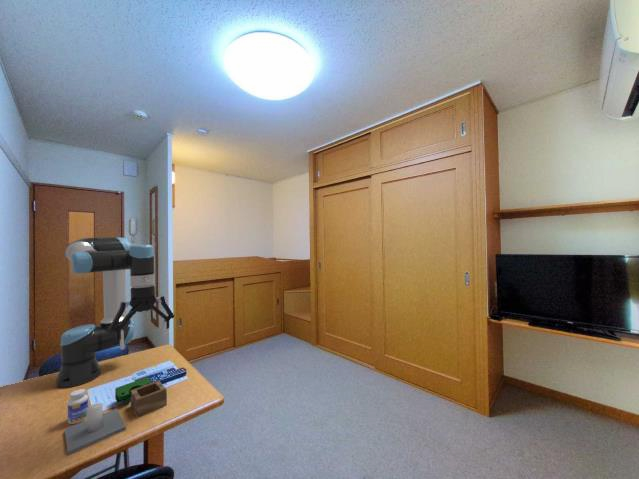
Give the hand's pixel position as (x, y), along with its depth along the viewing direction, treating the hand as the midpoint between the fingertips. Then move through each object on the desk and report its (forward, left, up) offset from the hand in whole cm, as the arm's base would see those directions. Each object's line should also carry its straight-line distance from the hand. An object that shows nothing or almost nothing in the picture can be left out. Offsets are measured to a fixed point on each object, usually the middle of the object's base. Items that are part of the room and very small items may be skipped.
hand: (144, 342), depth 99 cm
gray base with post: (+1, -15, -25) cm, 29 cm away
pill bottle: (-11, -18, -25) cm, 33 cm away
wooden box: (-1, +1, -25) cm, 25 cm away
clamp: (-11, -1, -25) cm, 27 cm away
